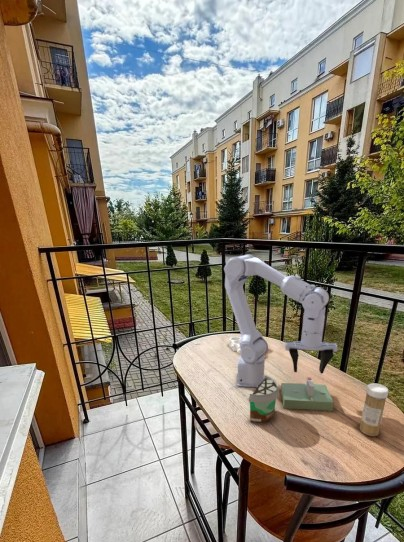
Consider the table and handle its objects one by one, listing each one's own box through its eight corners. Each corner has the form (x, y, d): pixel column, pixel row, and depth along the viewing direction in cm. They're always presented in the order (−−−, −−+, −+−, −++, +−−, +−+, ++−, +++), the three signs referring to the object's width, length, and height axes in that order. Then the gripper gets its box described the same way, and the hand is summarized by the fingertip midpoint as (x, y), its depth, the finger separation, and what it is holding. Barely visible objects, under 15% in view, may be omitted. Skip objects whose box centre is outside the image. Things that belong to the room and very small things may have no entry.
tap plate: (283, 408, 85) (284, 399, 84) (280, 390, 94) (281, 382, 93) (332, 411, 83) (334, 402, 82) (324, 392, 92) (325, 384, 91)
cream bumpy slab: (272, 351, 124) (246, 360, 117) (246, 339, 138) (222, 346, 132) (272, 344, 123) (246, 352, 116) (246, 333, 137) (222, 339, 130)
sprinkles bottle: (382, 432, 74) (392, 388, 69) (373, 439, 71) (383, 394, 67) (364, 423, 77) (373, 380, 72) (355, 429, 75) (363, 386, 70)
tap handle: (313, 396, 85) (314, 385, 83) (308, 396, 85) (309, 385, 84) (310, 387, 90) (311, 377, 88) (305, 387, 90) (306, 376, 88)
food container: (269, 432, 75) (271, 400, 72) (248, 425, 79) (248, 394, 75) (283, 408, 85) (285, 379, 82) (263, 402, 88) (265, 374, 85)
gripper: (335, 326, 85) (329, 366, 89) (285, 325, 87) (282, 364, 92) (341, 334, 78) (335, 377, 83) (288, 333, 81) (284, 374, 85)
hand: (308, 371), depth 87 cm, fingers open, 7 cm apart
